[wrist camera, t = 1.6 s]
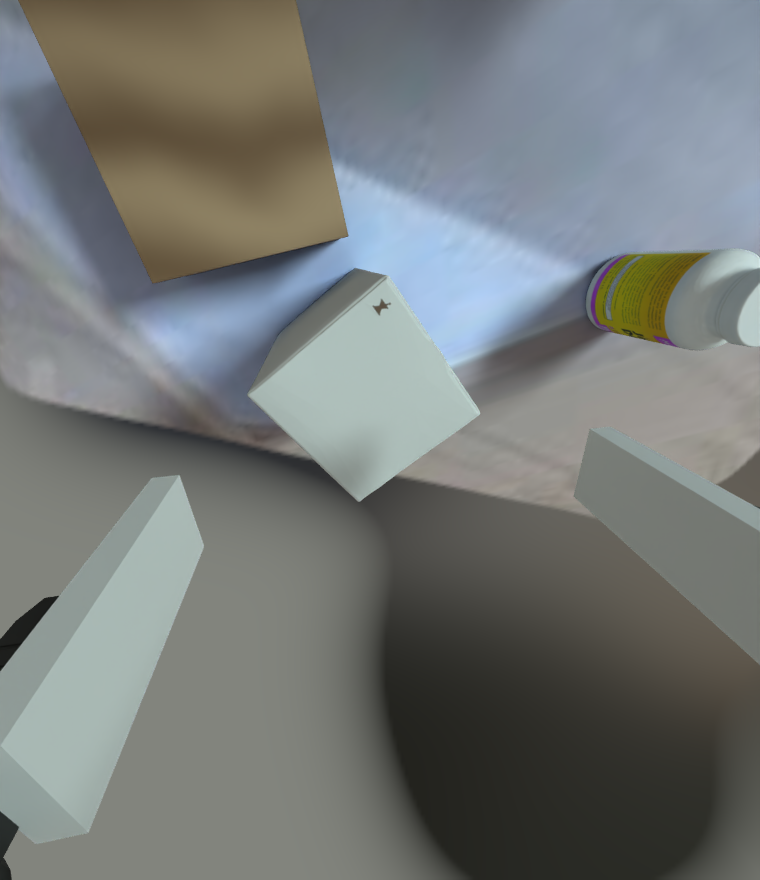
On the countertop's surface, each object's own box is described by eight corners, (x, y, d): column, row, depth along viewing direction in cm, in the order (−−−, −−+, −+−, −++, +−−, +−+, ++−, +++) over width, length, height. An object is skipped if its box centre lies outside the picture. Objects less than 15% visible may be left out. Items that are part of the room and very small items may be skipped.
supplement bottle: (575, 332, 34) (704, 366, 23) (591, 253, 31) (749, 247, 20) (638, 328, 35) (793, 359, 23) (659, 251, 32) (850, 244, 20)
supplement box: (272, 336, 30) (236, 393, 17) (356, 265, 29) (388, 265, 15) (341, 412, 34) (356, 508, 21) (417, 353, 33) (486, 415, 19)
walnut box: (89, 59, 21) (14, -8, 16) (290, 16, 22) (281, -64, 17) (185, 279, 27) (152, 283, 22) (342, 241, 28) (348, 236, 22)
